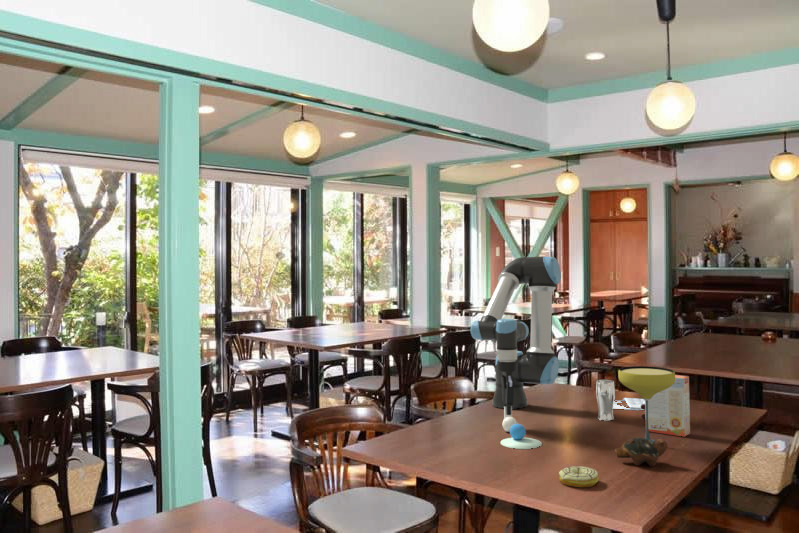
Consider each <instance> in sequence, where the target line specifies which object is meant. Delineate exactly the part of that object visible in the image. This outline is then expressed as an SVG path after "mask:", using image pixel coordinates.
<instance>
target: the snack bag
mask: <svg viewBox="0 0 799 533" xmlns="http://www.w3.org/2000/svg"><path fill="white" fill-rule="evenodd" d="M614 400H615V399H614ZM615 401H617V402H615ZM615 401H614V404H613V409H624V410H623V411H639V410H643V409H642V408H641V405H642V404H645V400H644V399H643V398H637V397H636V398H635V397H634V398H633V397H623V398H622V400H615ZM621 401H626V403H627V404H626V407H628V406H629V407H630V408H626V407H624V406H625V405H622V406H620V405H617V403H622V402H621Z"/></svg>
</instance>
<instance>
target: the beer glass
mask: <svg viewBox="0 0 799 533" xmlns="http://www.w3.org/2000/svg"><path fill="white" fill-rule="evenodd" d="M615 390H616V389H615V381H614V380H611V379H598V380H596V386H595V395H596V396H595V397H596V401H597V402H596V403H597V408H598V415H597V420H598V419H599V421H601V420H604V421H603V422H611V421H610V420H613V421H614V420H615V418H614V410H613V404H614V400H615V398H616V393H615V392H616V391H615Z"/></svg>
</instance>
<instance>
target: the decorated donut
mask: <svg viewBox="0 0 799 533" xmlns="http://www.w3.org/2000/svg"><path fill="white" fill-rule="evenodd" d="M558 477H559V482H560V483H561V484H563V485H566V486H568V487H573V486H574V487H573V488H581V489H582V488H590V487H594V486H596V485H597V484H598V481H599V474H598V471H597V470H596V469H594V468H592V467H588V466H577V465H574V466H567V467H565V468H563V469H561V470H560V471H559V472H558Z"/></svg>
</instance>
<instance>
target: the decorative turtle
mask: <svg viewBox="0 0 799 533" xmlns="http://www.w3.org/2000/svg"><path fill="white" fill-rule="evenodd" d="M653 440H654V442H653V443H652V442H651V441H649V440H648V439H645V437H634V438H630V439H628V440H626V441H624V442H623V443H622V445H621V446H620V447H617V448H615V450H614V451H615V455H616V457H617V458H618V459H619V458H620V459H625V458H626V459H627V458H629V459H631V460H632V461H633V464H634V465H635V466H636V465H637V467H639V466H640V465H642V464H643V463H645V462H646V464H647V465H649V467H651V466H652V467H651V468H654V467H655V466H656V465H657V461H658V458H660V457H661V456H662V455H664V453H665V452H666V451H667V449H668V443H667V441H666V440H664V439H663V438H656V439H653Z"/></svg>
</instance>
